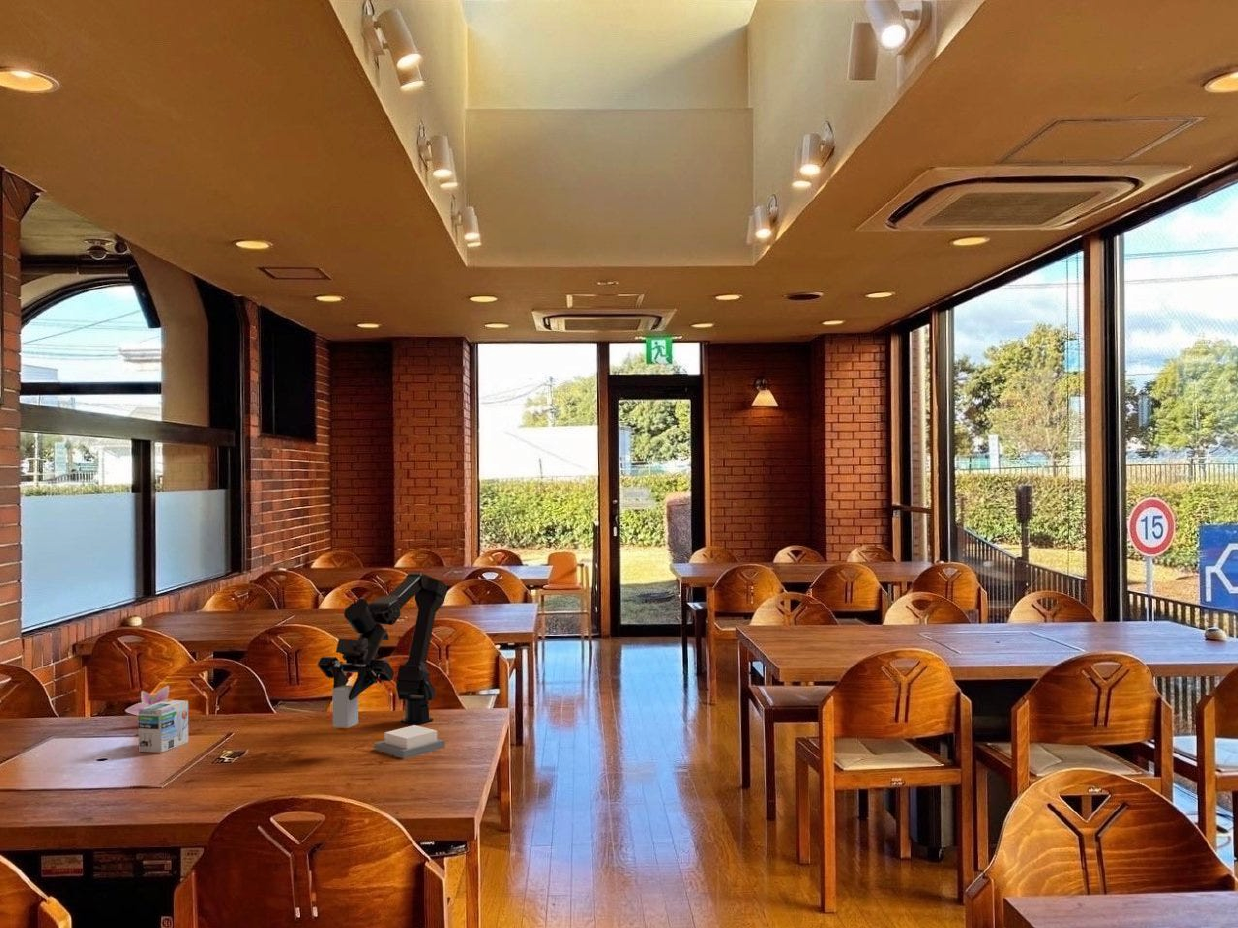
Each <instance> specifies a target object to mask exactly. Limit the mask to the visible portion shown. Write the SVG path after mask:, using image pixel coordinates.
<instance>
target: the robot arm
mask: <svg viewBox="0 0 1238 928" xmlns="http://www.w3.org/2000/svg"><path fill="white" fill-rule="evenodd" d="M447 594H448V586H447V585H446V584H445V582H444V581H443V580H441V579H436V578H433V577H432V576H431V577H430V576H429V575H426V574H424V573H409V574H407V575H406V577H405V579H404V580H403V581H402V582H401V583H400V584H398V585H397V586H396V587H395V588H394V589H393V590H392V591H391V592H390V593H389V594H387V595H386V596H384V597H381V598H377V599H375V600H373V601H371V602H369V603H368V601H367V599H365V598H358V599H357V601H356V602H354V603H351V604H350V605H349V606H348V607H346V608H345V610H344V612H343V616H344V618H345V619H346V621H347V622H348V623H349V625H350V626H351V628H352V629H353V631H354V632H355V633H356V634H359V635H358V637H357V639H351V638H338V641H337V645H336V649H335V653H337V654H338V653H339V654H341V655H342V659H343V660H344V661H345V662H343V661H339V659H338V658H337V657H336V656H323V657H320V659H319V661H318V663H317V667H318V668H319V669H320V671H321V672H322V673H323V674H324V675H325V677H327V678H328V679H333V685H332V689H333V688H336V687H339V686H342V685H347V684H348V683H349V678H348V677H347V676H346V675H347V673H357V677H356V680H355V681H354V684H353V685H352V686H353V688H352V690H351V692H350V695H349V699H350V700H353V699H354V698H355V697H356V696H358V697H359V695H361V694H362V693H363V692H364V691H366V690H367V689H369V688H370V687H372V686H373V685H375V684H377V683H379V680H378V678H379V679H380V681H381V682H392V680H393V678H394V675H395V671H394V669H393V668H392V666H391V665H390V663H389V662H388V661H387V659H378V657H379V656H380V655H379V653H378V650H379V649H380V646H381V643H382V642H383V641H389V635H388V631H387V630H388V629H386V628H384V626H393V625H394V624H395V623H396V622H397V621H398V620H399V618H400V616H401V610H402V608H403V607H404V606H406V604H408V602H409V601H410V600H411V599H413V598H414V602H415V604H416V607H417V614H416V618H415V619H416V620H415V623H414V624H415V625H414V629H413V634H412V639H411V644H410V649H409V654H408V659H407V661H406V662H405V663H404V664H401V665H400V666H399V667H398V673H397V677H396V682H395V687H396V692H397V696H398V699H399V700H405V701H404V706H405V707H404V708H405V713H404V715H405V716H404V717H405V718H402V719H400V722H401V723H405V724H409V725H419V724H424V723H429V722H432V721H434V718H433V717H430V705H429V704H430V703H429V701H432V700H434V698H435V697H436V687H434V685H433V684H432V682H431V681H430V679H431V678H430V676H431V674H430V671H429V668H428V665H427V660H428V655H429V650H430V646H431V645H430V644H431V638H432V634H433V630H434V629H433V628H434V623H435V619H436V613H437V612H438V611H439V610H440V608H441V607H442V606H443V605H444V601H445V599H446V596H447Z"/></svg>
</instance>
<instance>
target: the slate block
mask: <svg viewBox="0 0 1238 928" xmlns="http://www.w3.org/2000/svg"><path fill="white" fill-rule="evenodd" d="M352 688H353V685H347V684H346V685H342V686H339V687H336V688H333V687H332V689H331V691H332V699H331V700H332V727H334V728H346V729H348V728H351V727H353V726H355V725H358V724H359V695H358V696H356V697H355V698H354V699H353V700H350V699H349V695H350V692H351V690H352Z"/></svg>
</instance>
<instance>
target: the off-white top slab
mask: <svg viewBox="0 0 1238 928" xmlns="http://www.w3.org/2000/svg"><path fill="white" fill-rule="evenodd" d="M383 736H384V740H385V743H387V744H390V745H394V746H398V747H401V748H405V749H409V748H413V747H417V746H420V745H424V744H428V743H431V742H435V741H437V739H438V730H436V729H432V728H428V727H424V726H420V725H418V724H416V725H413V724H411V725H409V726H405V727H401V728H398V729H397V728H396V729H393V730H389V731H385V732H384V735H383Z"/></svg>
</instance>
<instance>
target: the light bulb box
mask: <svg viewBox="0 0 1238 928" xmlns="http://www.w3.org/2000/svg"><path fill="white" fill-rule="evenodd" d="M188 743H189V700H180V699H167V700H164V701H161V702H158V703H155V704H152V705H149V706H146V707H143V708H140V709H139V716H138V752H139V753H152V754H153V753H154V754H155V753H156V754H163V753H164V752H167V751H170V750H172V749H175V748H178V747H181V746H182V745H185V744H188Z"/></svg>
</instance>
